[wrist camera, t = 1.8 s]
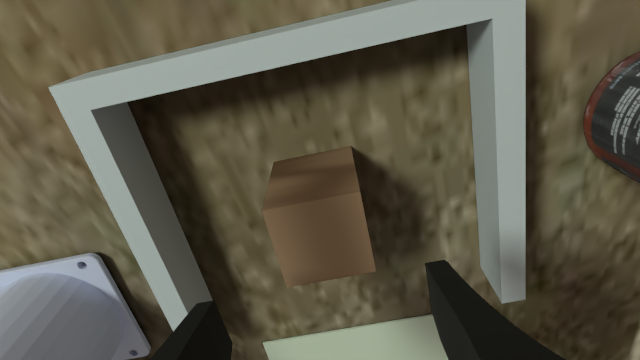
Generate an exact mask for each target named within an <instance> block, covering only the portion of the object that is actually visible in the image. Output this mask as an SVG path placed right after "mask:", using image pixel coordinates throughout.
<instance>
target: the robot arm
mask: <svg viewBox="0 0 640 360" xmlns="http://www.w3.org/2000/svg"><path fill="white" fill-rule="evenodd" d="M82 262H84V263H85V264H86V265H85V264H83V263H82ZM425 266H426V273H427V281H428V288H429V296H430V303H431V311H432V314H433V317H434V321H435V324H436V328H437V331H438V334H439V337H440V340H441V343H442V345H443V348H444V350H445V352H446V355H447V357H448V360H566V359H564V358H562V357H560V356H559V355H557V354H555V353H554V352H552V351H551V350H549V349H548V348H546V347H545V346H543V345H542V344H540V343H538V342H537V341H536V340H534V339H533V338H531V337H530V336H528V335H527V334H526V333H524V332H523V331H522V330H520V329H519V328H518V327H516V326H515V325H514V324H512V323H511V322H510V321H509V320H507V319H506V318H505V317H504V316H502V315H501V314H500V313H499V312H498V311H496V310H495V309H494V308H493V307H492V306H491V305H489V304H488V303H487V302H486V301H485V300H484V299H483V298H482V297H481V296H480V295H479V294H477V293H476V292H475V291H474V290H473V289H472V288H471V287H470V286H469V285H468V284H467V283H466V282H465V281H464V280H463V279H462V278H461V277H460V276H459V274H458V273H457V272H456V271H455V270H454V269H453V268H452V267H451V266H450V264H449V263H448V262H447V261H445V260H441V261H435V262H429V263H425ZM150 350H151V347H150V345H149V343H148V341H147V339H146V337H145V336H144V334H143V332H142V330H141V328H140V327H139V325H138V323H137V321H136V319H135V318H134V316H133V314H132V312H131V310H130V309H129V307H128V305H127V303H126V301H125V300H124V298H123V296H122V294H121V292H120V291H119V289H118V287H117V285H116V283H115V282H114V280H113V278H112V276H111V274H110V273H109V271H108V269H107V267H106V265H105V264H104V262H103V260H102V258H101V257H100V256H99V255H97V254H95V253H87V254H82V255H77V256H72V257H67V258H62V259H56V260H51V261H46V262H41V263H36V264H31V265H25V266H20V267H15V268H10V269H5V270H0V360H127V359H133V358H139V357H145V356H147V355H148V354H149V352H150ZM231 352H232V341H231V339H230V336H229V334H228V332H227V329H226V327H225V325H224V323H223V320H222V318H221V316H220V313H219V311H218V309H217V306H216V304H215V302H214V300H213V301H207V302H201V303H197V304H196V305H195V306H194V307H193V308H192V309H191V311H190V312H189V313H188V314H187V316H186V317H185V318H184V319H183V320H182V322H181V323H180V324H179V325H178V327H177V328H176V329H175V330H174V332H173V333H172V334H171V335H170V336H169V338H168V339H167V340H166V341H165V342H164V344H163V345H162V346H161V347H160V348H159V350H158V351H157V352H156V353H155V354H154V355H153V357H152V358H151V359H150V360H231Z"/></svg>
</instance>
